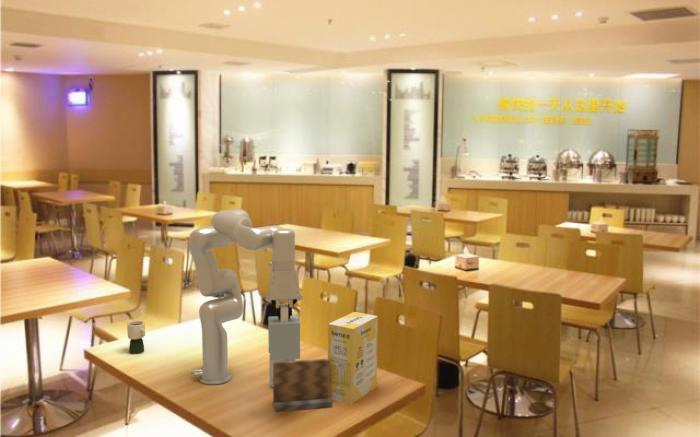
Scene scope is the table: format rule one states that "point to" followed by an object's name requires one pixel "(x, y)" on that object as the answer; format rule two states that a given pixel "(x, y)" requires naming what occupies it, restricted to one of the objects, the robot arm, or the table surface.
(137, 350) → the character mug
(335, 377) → the pasta box
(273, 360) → the supplement box
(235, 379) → the table surface
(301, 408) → the walnut wall board
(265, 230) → the robot arm
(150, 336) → the table surface
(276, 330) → the slate cabinet
